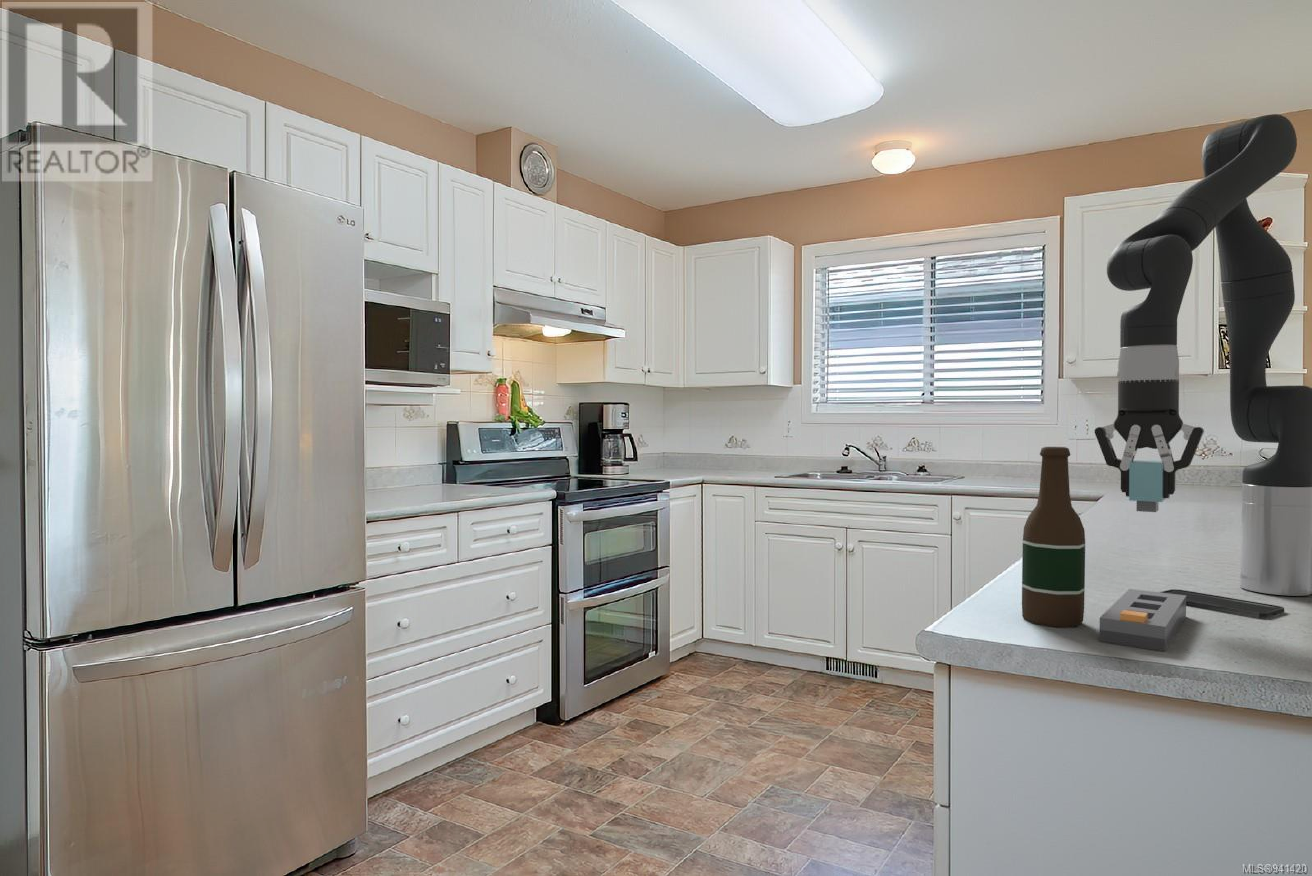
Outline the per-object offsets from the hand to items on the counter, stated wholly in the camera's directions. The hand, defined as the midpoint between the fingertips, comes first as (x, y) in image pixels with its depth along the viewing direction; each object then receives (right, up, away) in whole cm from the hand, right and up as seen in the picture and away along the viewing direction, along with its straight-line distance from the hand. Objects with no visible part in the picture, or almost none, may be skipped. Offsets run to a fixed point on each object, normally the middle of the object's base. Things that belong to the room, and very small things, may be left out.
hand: (1147, 496), depth 117 cm
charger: (0, -2, 0) cm, 2 cm away
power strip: (-6, -17, -9) cm, 20 cm away
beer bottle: (-17, -17, -6) cm, 24 cm away
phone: (+13, -17, +4) cm, 22 cm away
